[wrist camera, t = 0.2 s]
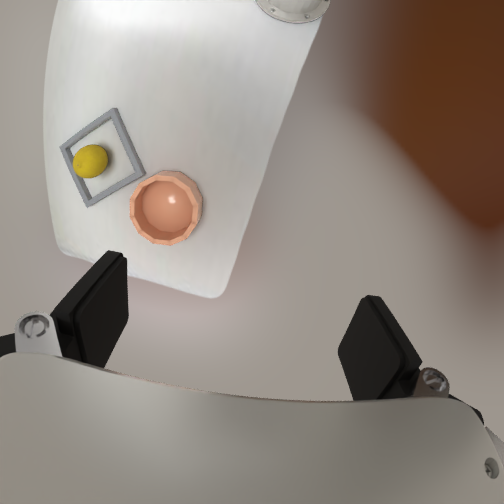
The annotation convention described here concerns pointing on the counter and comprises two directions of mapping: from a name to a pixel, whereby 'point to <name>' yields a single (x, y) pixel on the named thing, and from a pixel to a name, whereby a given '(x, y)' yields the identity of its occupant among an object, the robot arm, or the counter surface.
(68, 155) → the gray square frame
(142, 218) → the bowl
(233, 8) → the counter surface
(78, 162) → the lemon
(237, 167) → the counter surface
